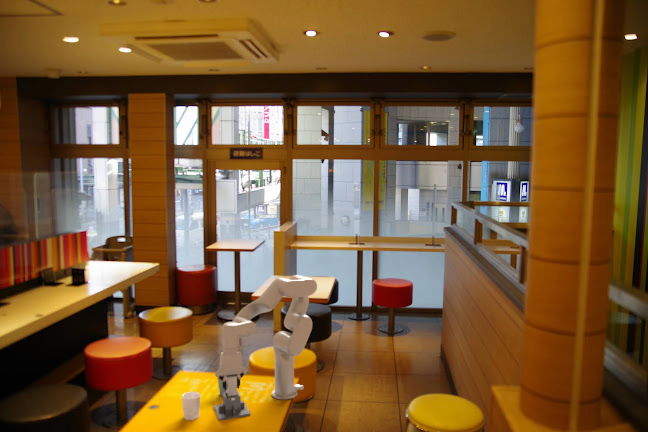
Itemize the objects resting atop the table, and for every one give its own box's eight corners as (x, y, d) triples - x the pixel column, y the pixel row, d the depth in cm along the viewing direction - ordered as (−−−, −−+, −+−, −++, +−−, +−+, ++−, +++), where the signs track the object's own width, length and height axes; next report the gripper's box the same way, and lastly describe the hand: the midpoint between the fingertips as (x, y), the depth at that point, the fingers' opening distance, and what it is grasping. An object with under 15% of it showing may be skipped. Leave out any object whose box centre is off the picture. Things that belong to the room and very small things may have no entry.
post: (235, 406, 240) (235, 372, 239) (237, 410, 236) (237, 376, 235) (225, 407, 239) (225, 373, 237) (227, 411, 234) (227, 377, 233)
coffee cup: (230, 398, 251) (230, 374, 251) (214, 396, 253) (213, 372, 252) (237, 391, 260) (236, 367, 259) (221, 389, 262) (220, 366, 261)
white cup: (193, 411, 238) (193, 390, 237) (204, 416, 233) (203, 394, 232) (178, 417, 232) (178, 395, 231) (189, 422, 227) (189, 400, 226)
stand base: (243, 402, 247) (243, 386, 246) (250, 415, 234) (250, 398, 233) (213, 407, 242) (213, 390, 241) (219, 420, 229) (218, 403, 228)
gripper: (247, 344, 242) (248, 382, 243) (210, 349, 236) (211, 387, 237) (251, 350, 235) (251, 388, 236) (213, 354, 229) (214, 394, 230)
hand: (231, 387), depth 237 cm, fingers open, 5 cm apart
